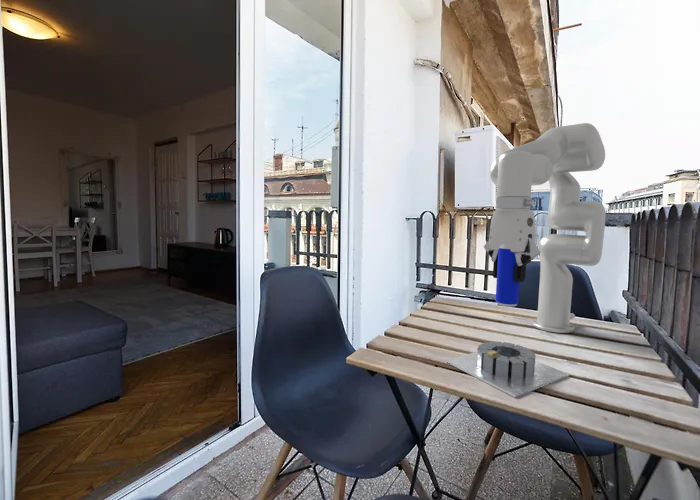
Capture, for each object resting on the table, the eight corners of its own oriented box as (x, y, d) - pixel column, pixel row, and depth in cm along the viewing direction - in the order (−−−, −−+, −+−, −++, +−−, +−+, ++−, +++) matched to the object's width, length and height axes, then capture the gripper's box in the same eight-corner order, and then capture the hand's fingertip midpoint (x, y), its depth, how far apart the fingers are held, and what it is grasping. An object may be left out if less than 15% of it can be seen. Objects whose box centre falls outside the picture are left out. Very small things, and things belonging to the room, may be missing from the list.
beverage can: (520, 307, 85) (524, 245, 83) (497, 306, 86) (501, 244, 85) (515, 302, 90) (518, 243, 88) (493, 301, 91) (496, 242, 90)
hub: (497, 347, 103) (498, 329, 102) (568, 376, 85) (570, 354, 85) (446, 362, 93) (447, 342, 92) (515, 397, 75) (516, 373, 75)
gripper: (557, 205, 80) (551, 284, 82) (493, 205, 95) (490, 272, 97) (536, 204, 76) (530, 287, 78) (473, 205, 91) (470, 275, 93)
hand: (508, 278), depth 87 cm, fingers closed on beverage can, 5 cm apart
